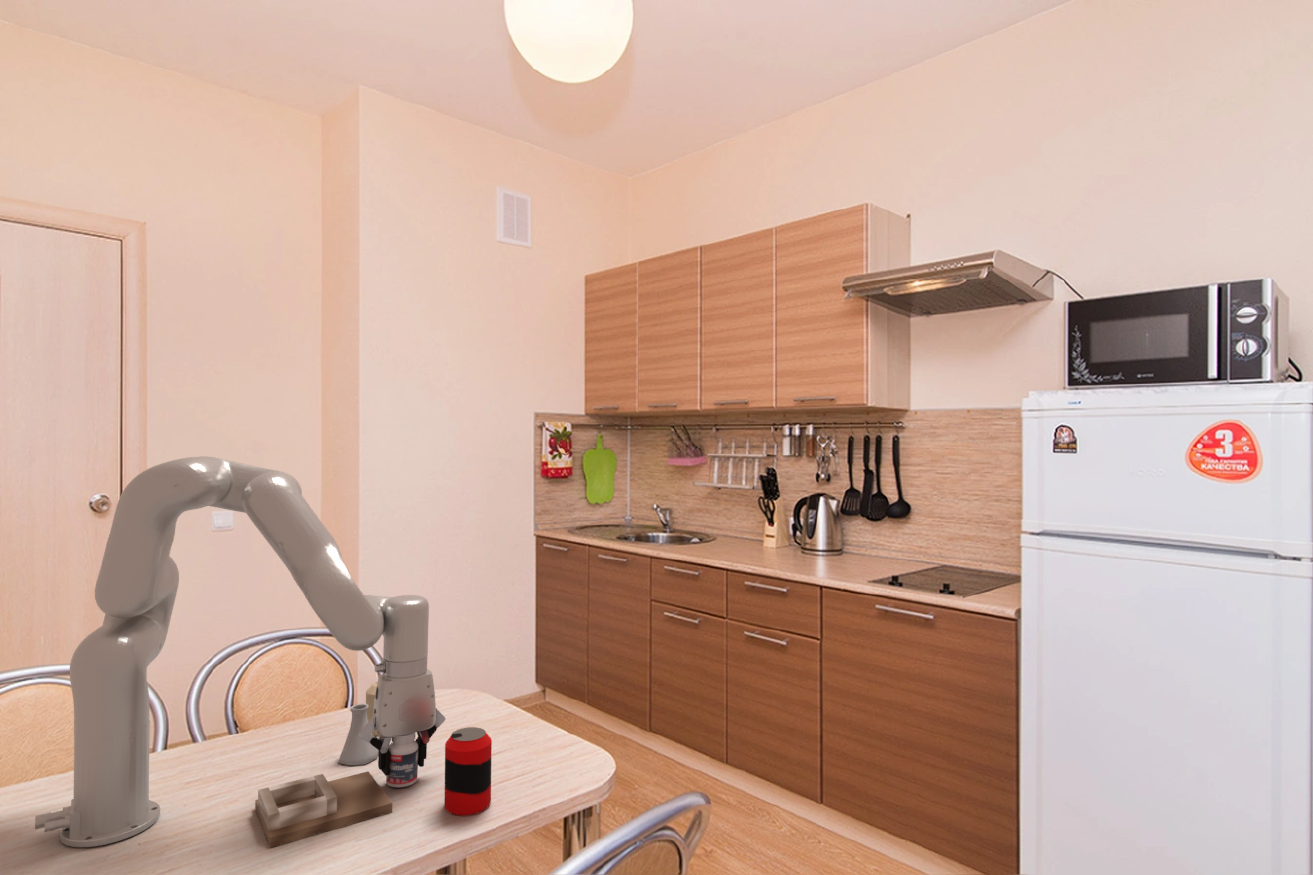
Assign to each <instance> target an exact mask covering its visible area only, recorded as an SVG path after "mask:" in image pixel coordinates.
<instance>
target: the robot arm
mask: <svg viewBox="0 0 1313 875" xmlns="http://www.w3.org/2000/svg"><path fill="white" fill-rule="evenodd" d="M206 507H213V508H218V509H224V510H228V511H233V512H234V511H235V512H239V513H244V514H246V515H247V517H248V518H249V519H250V521H251V523H252V524H253V525H254V526H255V527H256V528H257V530H258V531H259V533H260V534H261V535H262V536H263V538H264V539H265V540H266V541H267V543H268V544H269V545H270V547H271V548H272V549H273V551H274V553H276V555H277V556H278V558H279V559H280V561H282V562H283V564H284V565H285V567H286V568H287V570H288V571H289V573H290V574H291V576H292V579H293V581H294V583H296V585H297V586H298V587H299V589H300V591H301V592H302V593H303V595H304V597H305V599H306V600H307V603H309V606H311V608H312V609H313V611H314V613H315V614H316V616H317V617H318V618H319V619H320V621H321V622H322V624H323V625H324V626H325V627H326V628H327V630H328V631H329V632H330V634H331V635H332V637H333V638H334V639H335V640H336V641H337V643H338V644H340V645H341V646H342V647H343V648H345V649H347V650H351V651H356V652H357V651H358V652H359V651H365V650H367V649H370V648H372V647H373V646H374V645H375V644H377V643H378V642H379V641H380V639H381V637H382V636H383V650H382V651H383V652H382V653H383V654H382V658H381V662H379V663H378V664H375V665H374V673H382V674H380V675H379V676H378V679H377V682H378V683H377V688H376V693H375V699H374V707H373V716H372V717H371V719H370V720H369V721H368V723H367V724H366V725H365V726H364V728H363V729H362V730H361V732H360V733H359V736H360V737H361V738H362V739H363V740H365V741H366V742H368V743H370V744H371V745H372V746H374V747H375V748H376V749H378V750H379V754H378V757H377V760H378V761H377V764H378V765H377V766H378V770H380V771H381V772H382V773H383V774H384V776H387V775H389V774H390V758H391V753H390V752H389V750H388V747H389V745H390V744H391V742H392V737H396V736H401V735H405V734H410V733H414V732H415V733H416V734H417V738H415V741H416V742H417V743H418V767H420V768H422V767H424V766H425V760H427V748H428V743H429V742H430V739H431V737H433V735H434V734H435V733H436V732H437V730H438V728H440V727H441V726H442V725H443V724H444V722H446V717H445V716H444V714H442V713H441V711H439V710H438V708H436V691H435V683H434V678H433V671H431V670H430V669H428V653H429V652H428V649H429V619H430V618H429V616H430V605H429V601H428V599H427V598H426V597H424V596H421V595H416V594H415V595H414V594H407V595H406V594H405V595H397V596H382V595H380V596H379V595H371V594H364V593H363V592H362V591H361V589H360V588H359V586H358V585H357V584H356V581H355V580H354V579H353V577H352V575H351V574H350V572H349V569H347V565H346V564H345V562H344V560H343V557H342V556H343V555H342V553H341V550H340V548H339V545H338V543H337V542H336V539H335V538H334V537H333V535H332V534H331V533H330V531H329V530H328V529H327V527H326V526H325V524H324V523H323V522H322V521H321V520H320V518H319V516H318V515H317V514H316V513H315V512H314V510H313V509H312V507H311V506H310V504H309V503H308V501H307V500H306V498H305V497H304V496H303V493H302V488H301V484H300V483H299V482H298V480H297V478H295V477H294V476H293V475H291V474H289V473H288V472H285V471H280V470H275V469H271V468H270V469H269V468H266V467H260V466H256V465H255V466H254V465H251V464H245V463H242V462H241V463H240V462H238V461H237V462H236V461H233V460H227V459H223V458H218V457H214V456H205V455H203V456H188V457H183V458H178V459H173V460H169V461H165V462H162V463H159V464H156V465H154V466H152V467H149V468H147V469H145V470H143V471H142V472H140V473H139V474H138V475H136V476H135V477H134V478H133V479H132V480H130V482H129V483H128V484H127V485H126V487H124V489H123V491H122V492H121V495H120V496H119V499H118V501H117V504H116V508H115V510H114V514H113V520H112V522H111V523H112V524H111V528H110V533H109V535H108V538H107V542H106V544H105V549H104V554H103V557H102V560H101V565H100V569H99V571H98V575H97V579H96V583H95V587H94V600H95V602H96V605H97V607H98V609H100V611H102V613H103V614H105V615H104V618H103V623H102V625H101V626H100V627H98V628H96V629H95V630H93V631H92V632H91V633H89V634H88V635H86V637H85V638H83V640H82V641H81V642H80V643H79V644H78V645H77V647H76V649H75V650H74V652H73V654H72V657H71V659H70V660H71V661H70V664H69V682H70V688H71V693H72V700H73V702H72V704H73V739H74V740H73V798H72V799H71V802H70V805H69V806H65V807H62V810H59V811H58V810H57V811H53V812H51V811H50V812H46V813H43V814H38V815H35V820H34V821H35V822H34V830H39V829H42V828H43V831H44V833H48V832H51V831H52V832H53V831H56V830H59V829H60V831H59V840H60V841H61V843H62V844H63V845H65V846H69V847H73V848H91V847H92V848H93V847H99V846H104V845H109V844H113V843H116V842H117V843H118V842H120V841H123V840H125V839H129V838H131V837H133V836H136V835H137V834H139V833H140V834H141V833H142V832H143V831H145V830H147V829H149V828H150V827H151V826H153V824H155V823H156V821H158V820H159V818H160V815H161V806H160V804H159V803H158V802H156V801H153V800H149V799H150V730H151V729H150V721H151V720H150V710H151V709H150V694H149V692H150V691H149V686H148V678H147V676H148V675H147V671H148V667H149V666H150V665H151V663H152V662H153V661H154V660H155V659H156V658H157V657H159V656H158V655H159V654H160V653H161V652H162V649H163V647H164V645H165V643H166V639H167V636H168V631H169V629H170V628H169V627H170V623H171V620H172V614H173V609H174V605H175V601H176V598H177V594H178V588H179V582H180V581H179V580H180V572H179V568H178V566H177V563H176V562H175V560H174V559H173V558H172V557H171V556H170V555H171V549H172V546H173V543H174V540H175V536H176V535H175V534H176V526H177V521H178V518H179V517H180V515H181V514H182V515H183V513H185V512H187V511H193V510H198V509H203V508H206ZM373 730H377V733H378V735H379V736H378V737H377V736H373V735H372V734H371V733H372V731H373Z"/></svg>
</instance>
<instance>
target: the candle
mask: <svg viewBox="0 0 1313 875" xmlns="http://www.w3.org/2000/svg"><path fill="white" fill-rule="evenodd" d="M377 683H378V681H376V682H374V683H372V684H371V685H370V686H369V687H368V688H367V690H366V691H365V704H368V705H369V707H368V709H367V718H368V721H369V720H370V719H371V717H372V716H373V707H374V699H375V693H376V688H377ZM372 735H373V736H375V737H379V735H378V733H377V730H373V731H372Z"/></svg>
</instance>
